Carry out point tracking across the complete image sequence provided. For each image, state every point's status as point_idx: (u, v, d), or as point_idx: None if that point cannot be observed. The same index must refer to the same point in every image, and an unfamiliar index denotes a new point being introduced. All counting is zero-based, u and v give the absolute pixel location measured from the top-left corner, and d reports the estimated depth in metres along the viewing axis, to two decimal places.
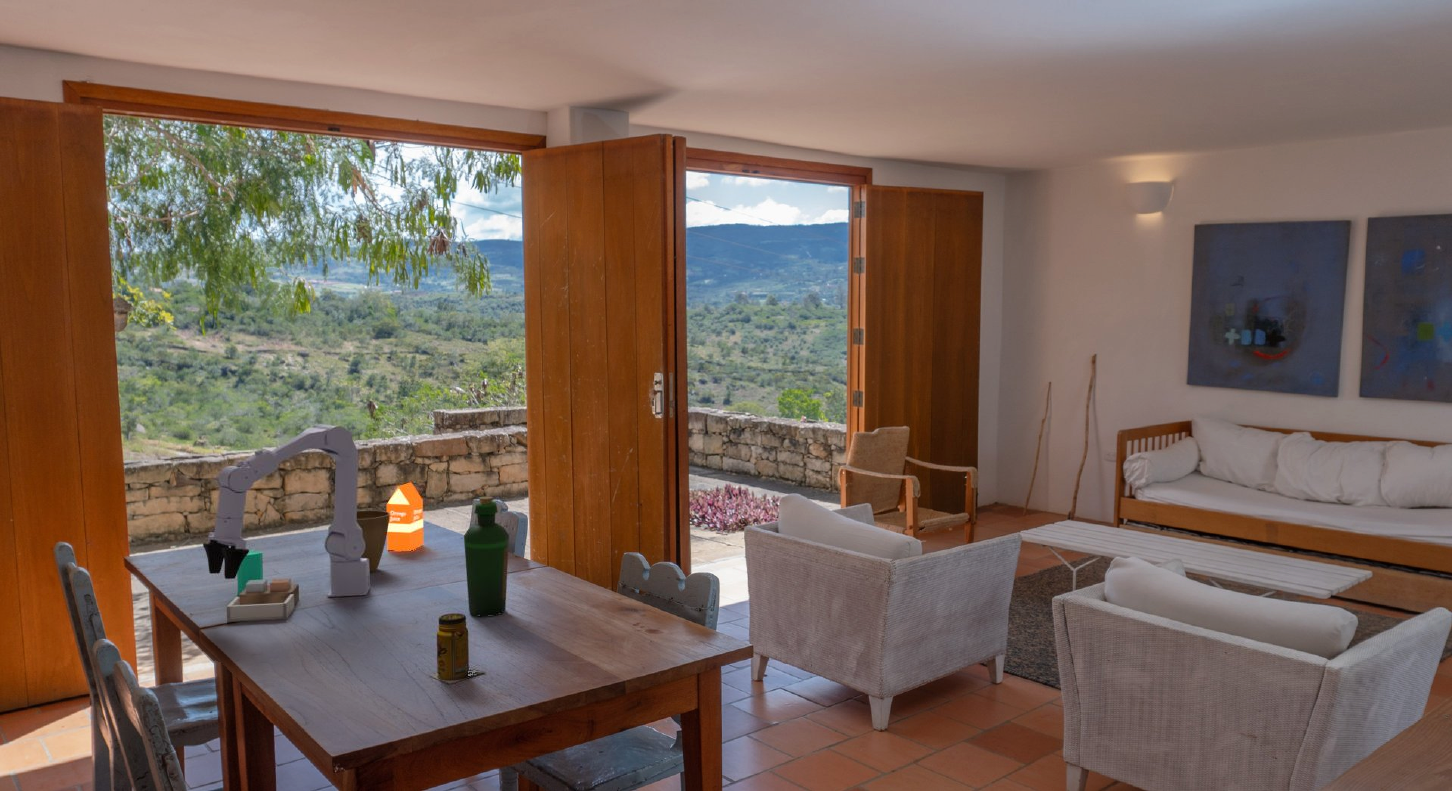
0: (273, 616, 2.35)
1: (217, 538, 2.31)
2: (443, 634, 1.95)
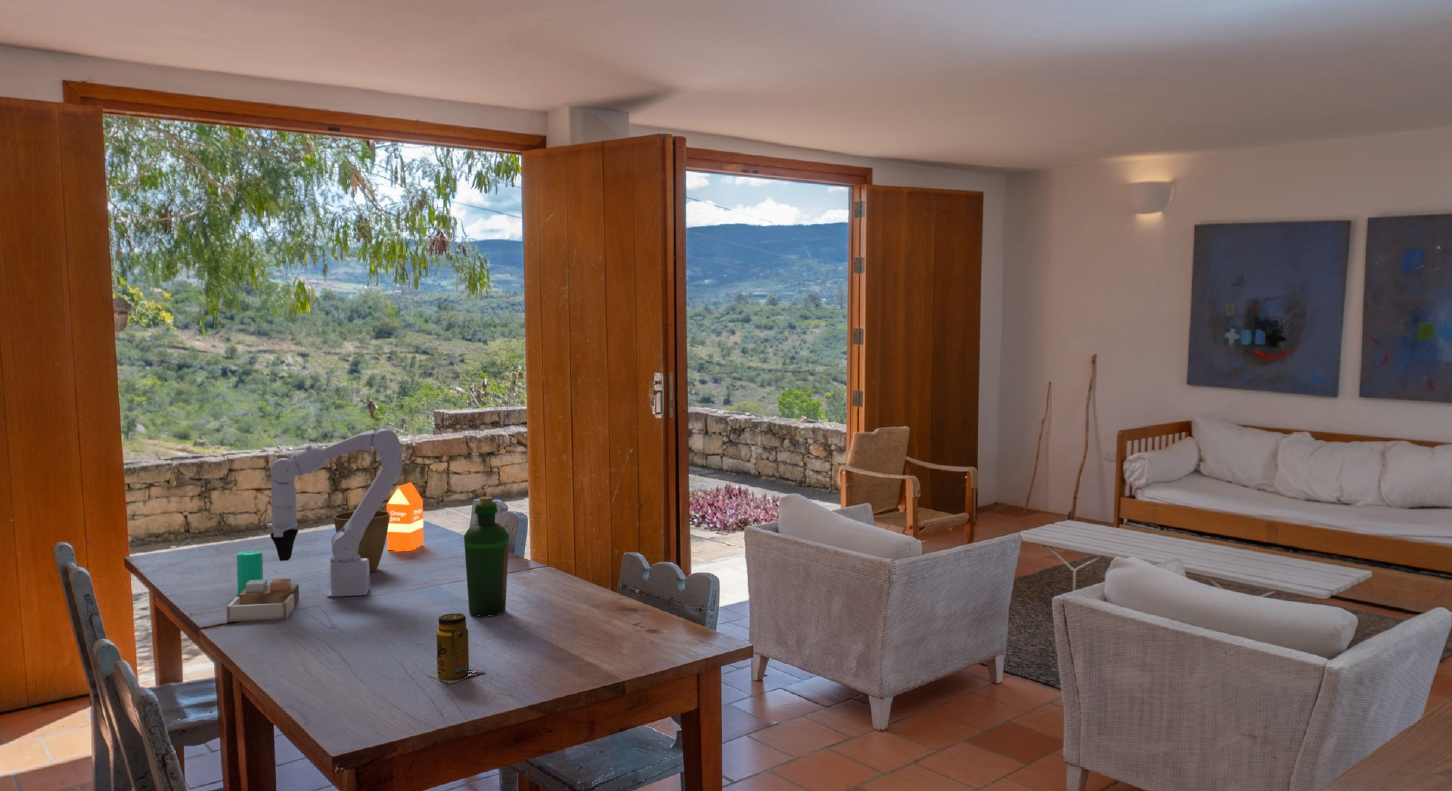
0: (273, 616, 2.35)
1: (271, 526, 2.50)
2: (443, 635, 1.95)
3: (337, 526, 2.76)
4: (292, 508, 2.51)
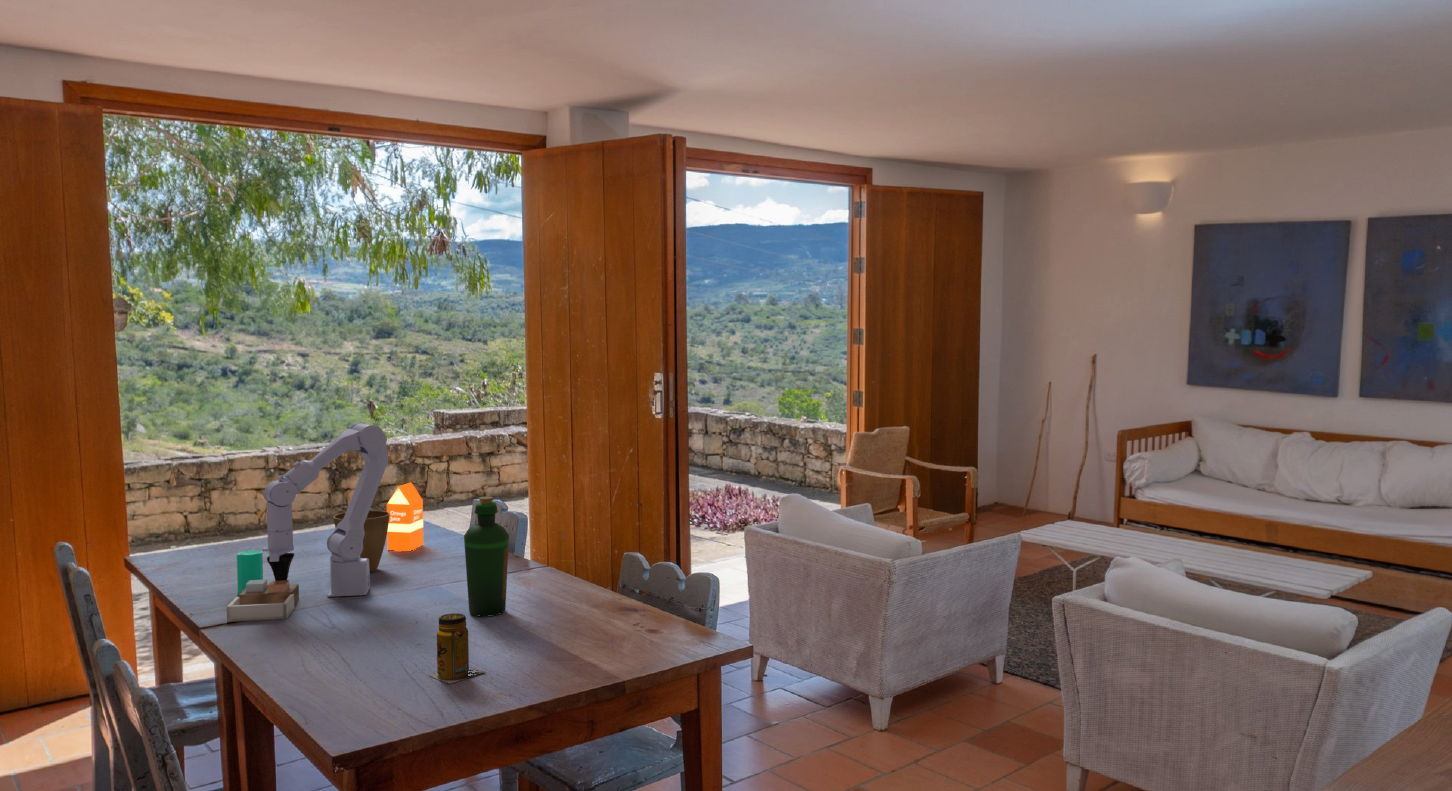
0: (273, 616, 2.35)
1: (266, 550, 2.46)
2: (443, 634, 1.95)
3: None
4: (288, 532, 2.46)
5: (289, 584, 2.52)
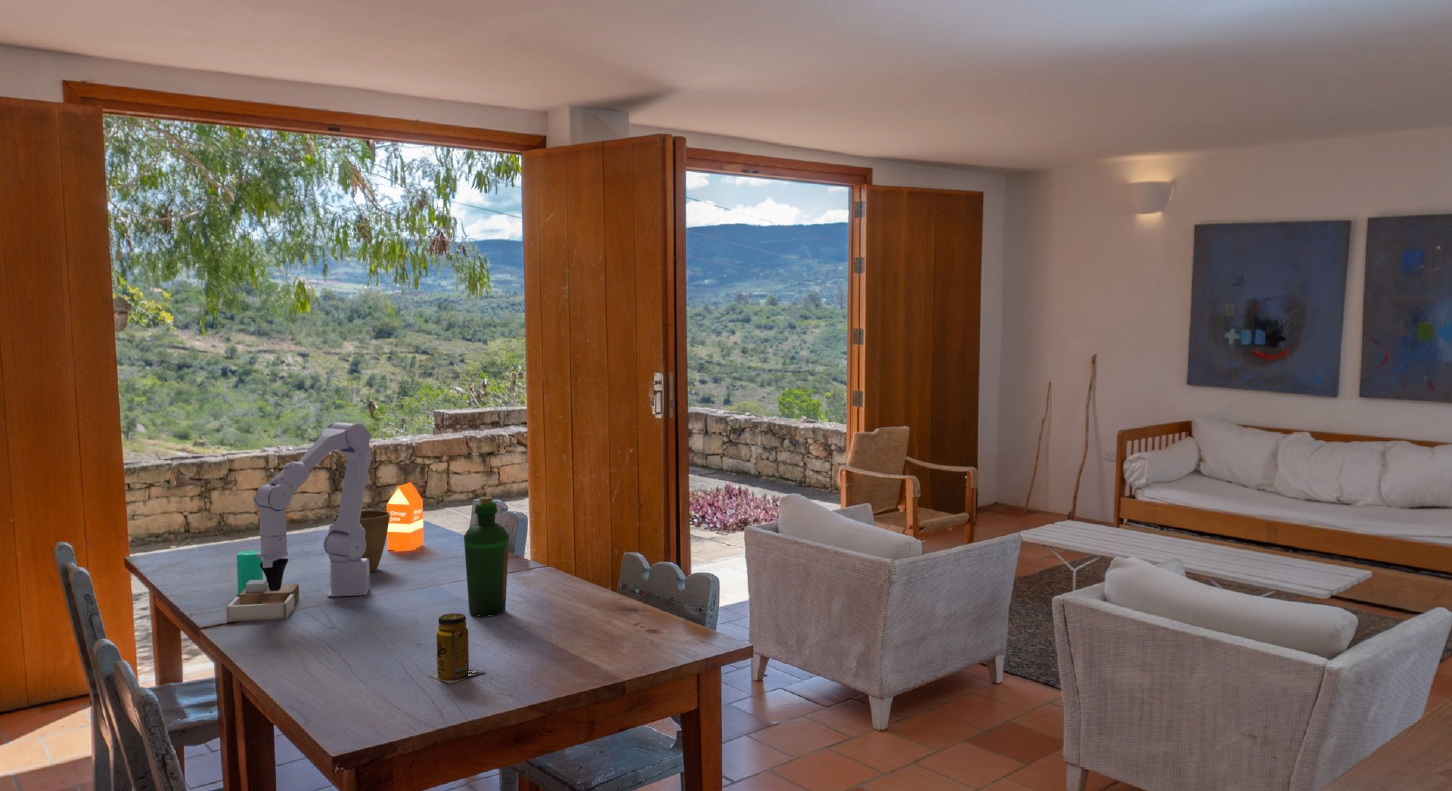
0: (273, 616, 2.35)
1: (259, 555, 2.39)
2: (443, 634, 1.95)
3: None
4: (282, 536, 2.39)
5: (289, 584, 2.52)
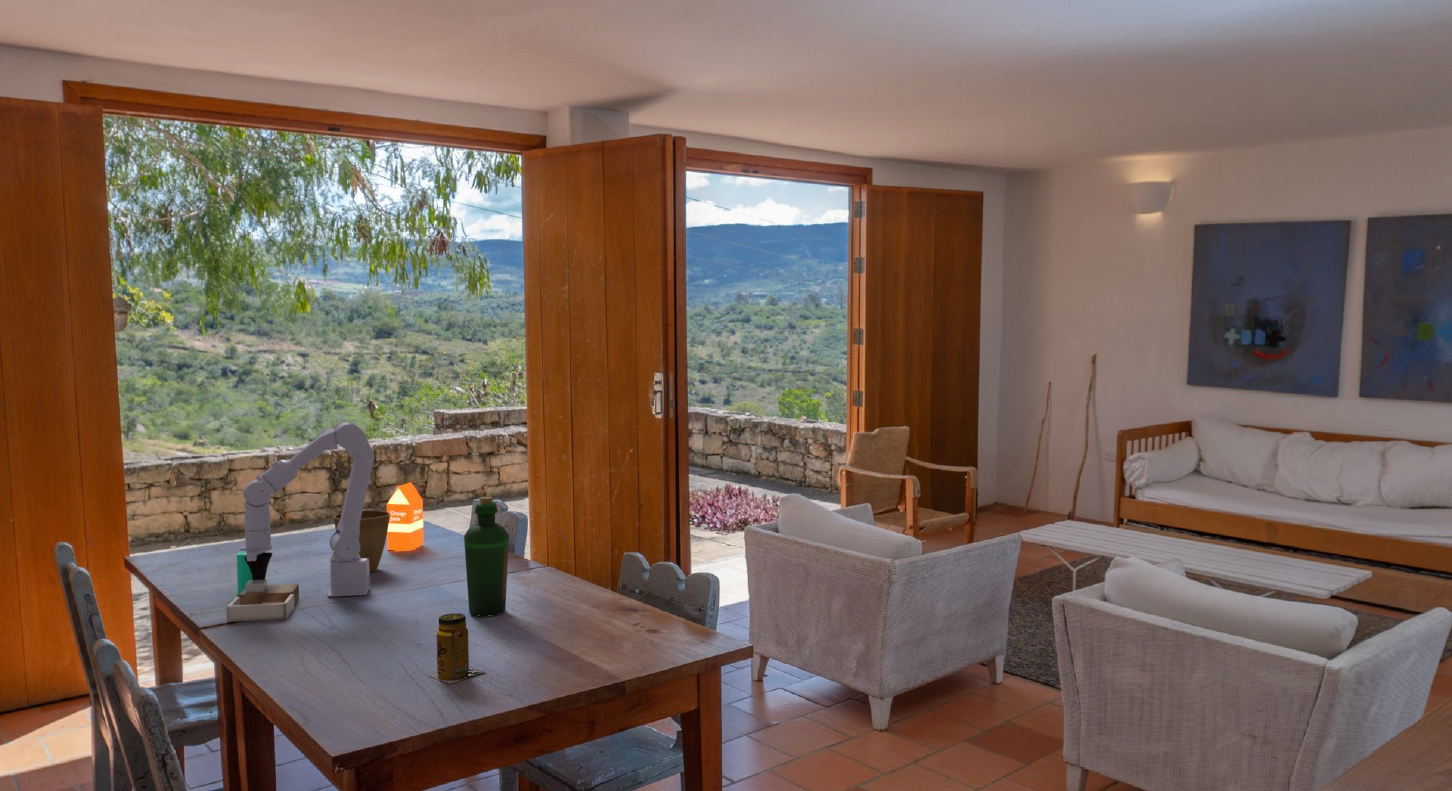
0: (273, 616, 2.35)
1: (244, 549, 2.46)
2: (443, 635, 1.95)
3: None
4: (266, 531, 2.47)
5: (289, 584, 2.52)
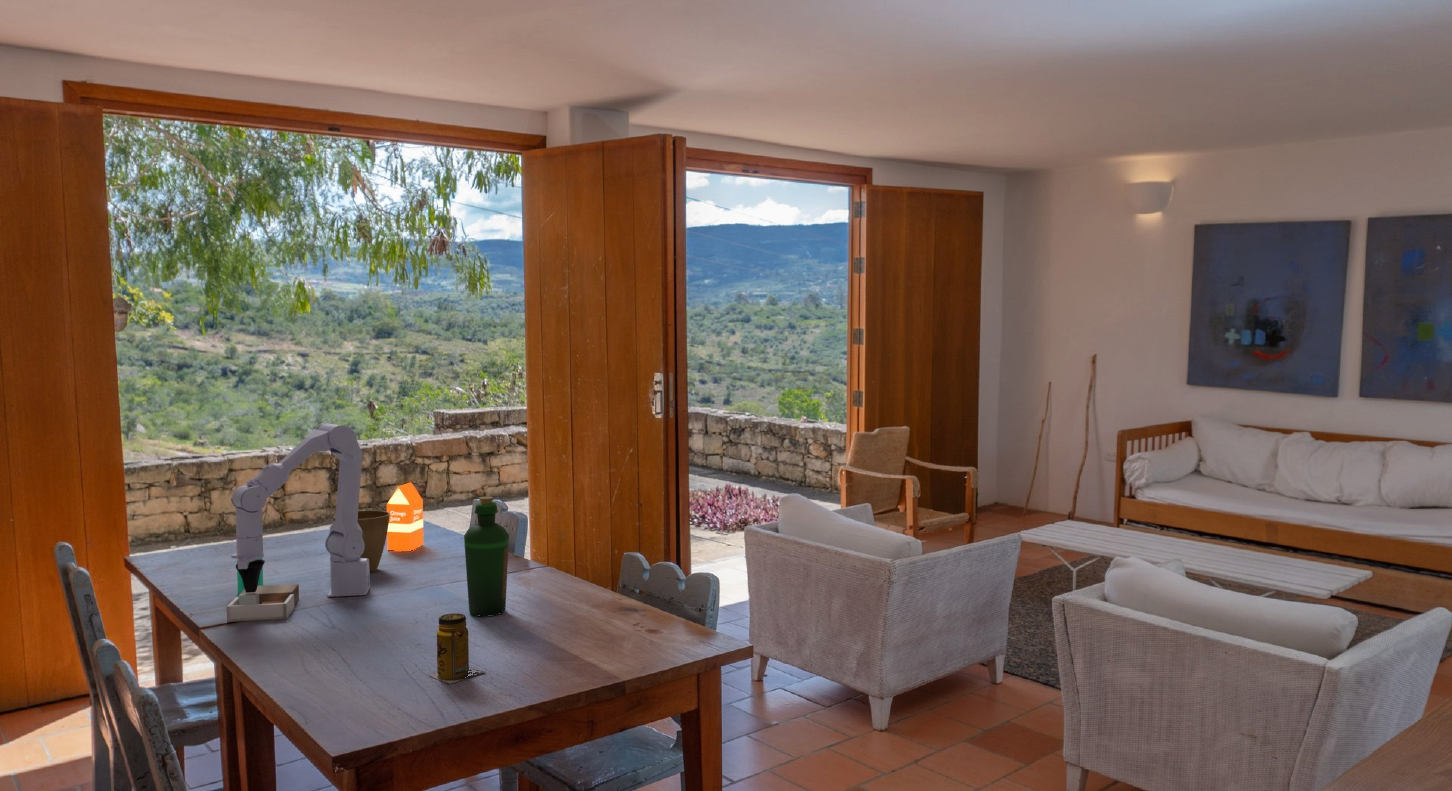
0: (273, 616, 2.35)
1: (235, 557, 2.39)
2: (443, 634, 1.95)
3: None
4: (258, 538, 2.39)
5: (289, 584, 2.52)
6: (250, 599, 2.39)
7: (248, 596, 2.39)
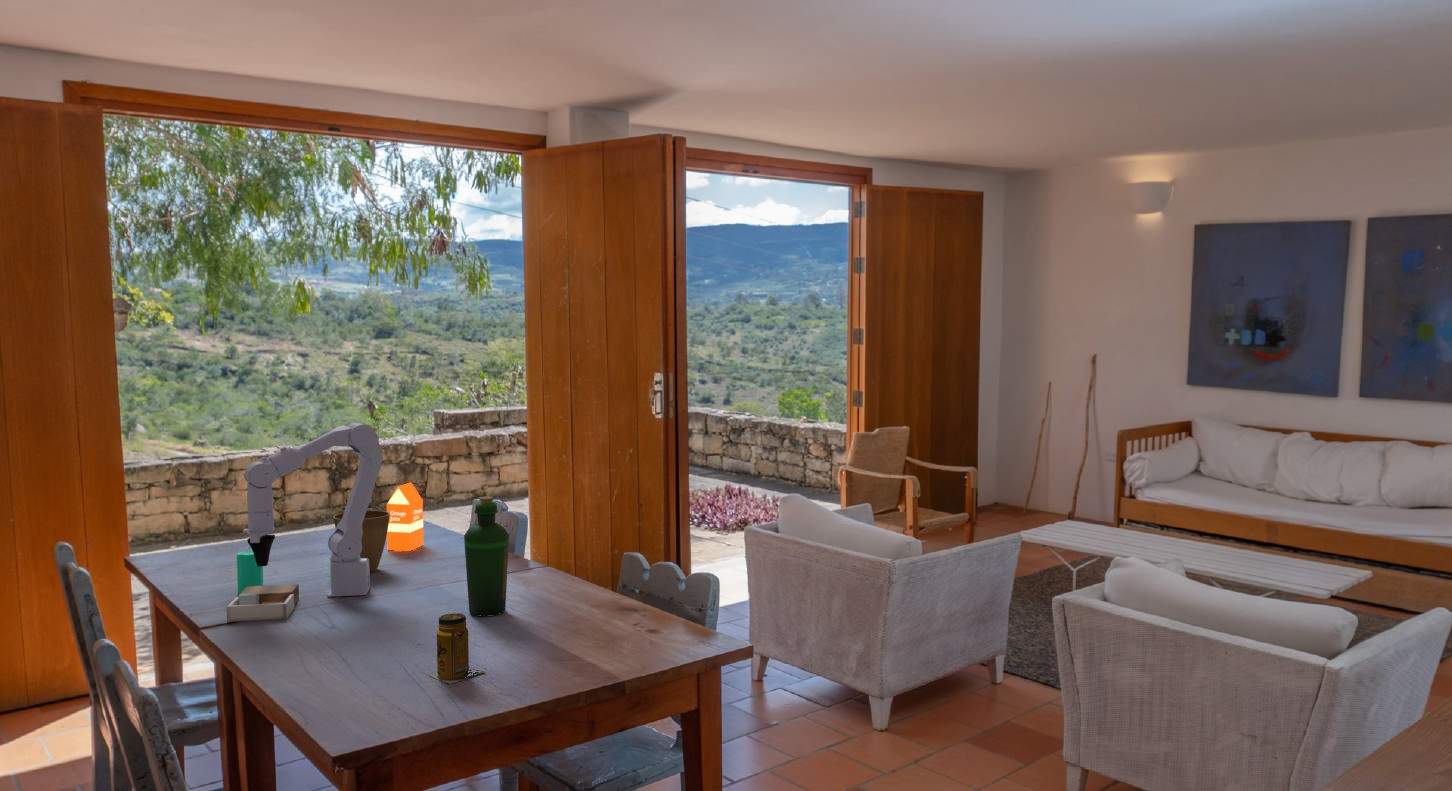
0: (273, 616, 2.35)
1: (247, 531, 2.44)
2: (443, 635, 1.95)
3: None
4: (269, 513, 2.45)
5: (289, 584, 2.52)
6: (250, 599, 2.39)
7: (248, 596, 2.39)
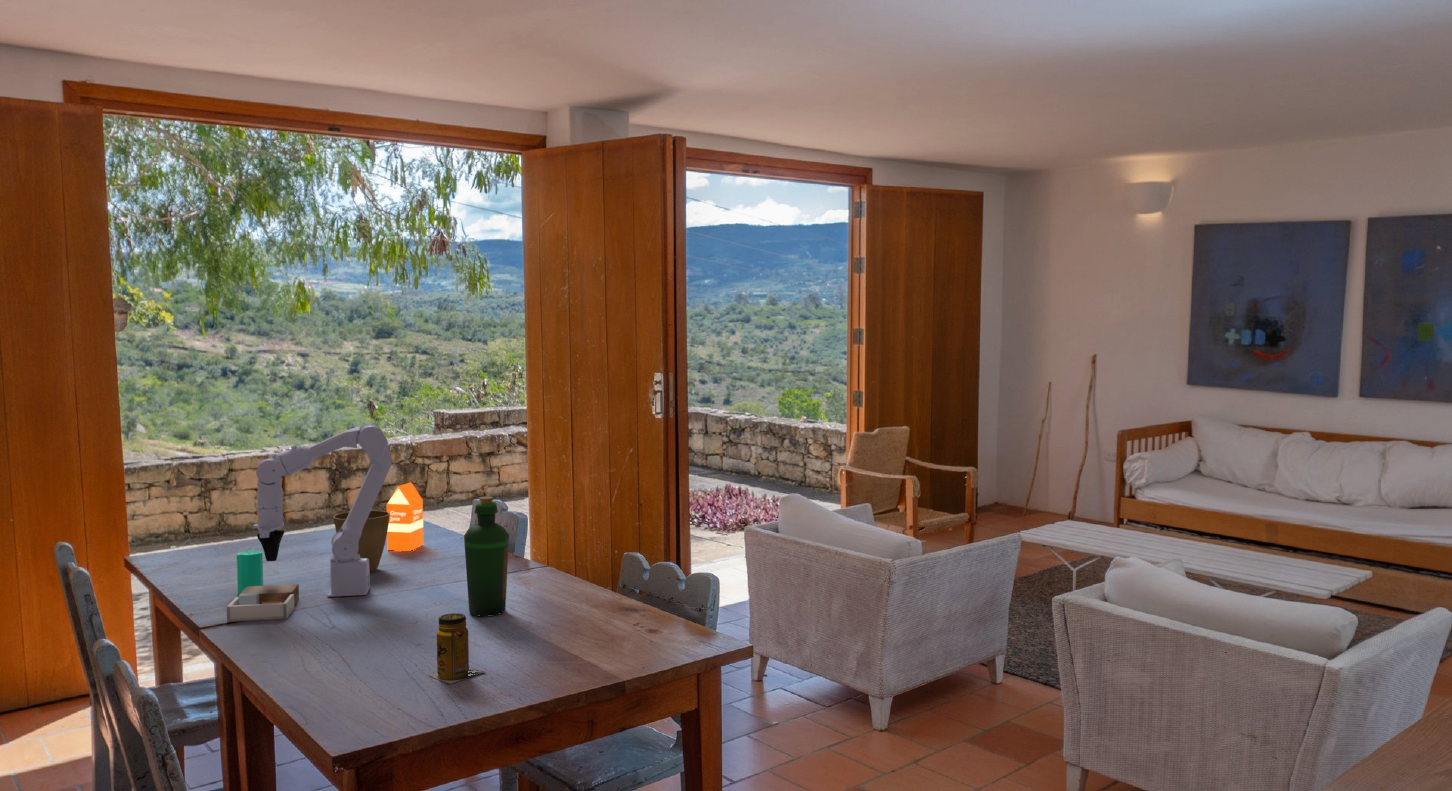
0: (273, 616, 2.35)
1: (257, 527, 2.49)
2: (443, 634, 1.95)
3: (337, 526, 2.76)
4: (278, 509, 2.50)
5: (289, 584, 2.52)
6: (250, 599, 2.39)
7: (248, 596, 2.39)
